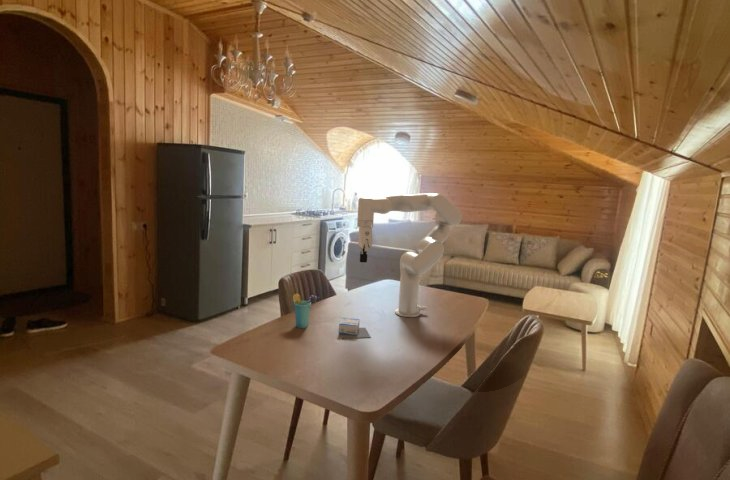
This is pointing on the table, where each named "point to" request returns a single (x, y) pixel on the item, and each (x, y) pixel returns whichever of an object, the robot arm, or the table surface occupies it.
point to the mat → (361, 334)
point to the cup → (302, 310)
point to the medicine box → (349, 326)
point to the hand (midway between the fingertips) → (363, 261)
